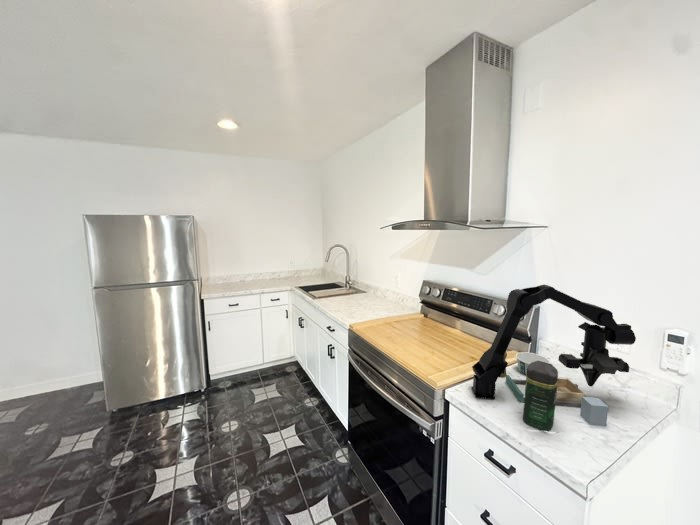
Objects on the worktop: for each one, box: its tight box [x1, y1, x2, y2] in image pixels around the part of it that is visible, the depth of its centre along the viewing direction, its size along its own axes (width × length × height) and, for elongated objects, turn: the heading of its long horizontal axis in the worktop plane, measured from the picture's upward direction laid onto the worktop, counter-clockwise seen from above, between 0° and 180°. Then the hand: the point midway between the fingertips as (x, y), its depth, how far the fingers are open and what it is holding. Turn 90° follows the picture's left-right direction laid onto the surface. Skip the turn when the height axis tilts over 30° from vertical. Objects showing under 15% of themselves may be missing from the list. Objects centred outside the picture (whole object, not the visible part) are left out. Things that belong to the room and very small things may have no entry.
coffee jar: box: [522, 361, 559, 432], centre depth 89 cm, size 10×8×19 cm
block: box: [579, 396, 609, 427], centre depth 89 cm, size 4×4×7 cm
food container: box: [515, 351, 551, 376], centre depth 119 cm, size 12×12×6 cm
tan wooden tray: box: [556, 377, 586, 402], centre depth 102 cm, size 10×10×4 cm
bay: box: [505, 374, 581, 409], centre depth 103 cm, size 26×16×4 cm, turn 81°
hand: (590, 385), depth 101 cm, fingers closed
